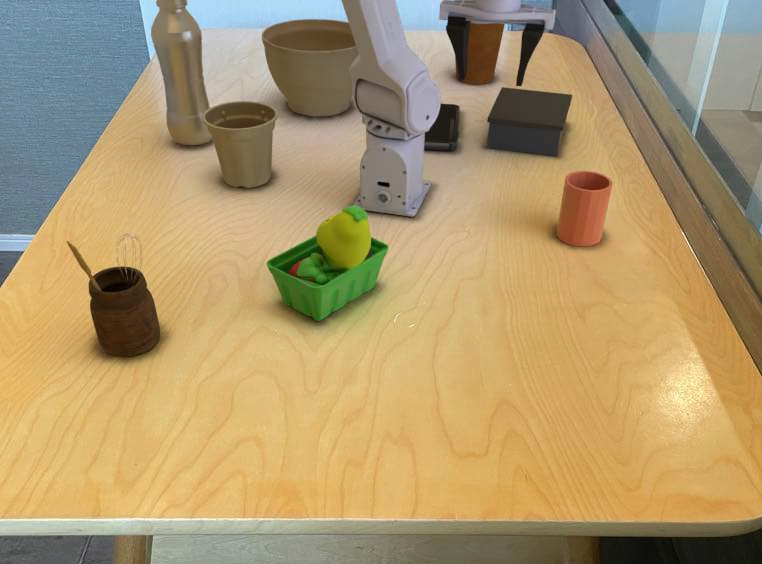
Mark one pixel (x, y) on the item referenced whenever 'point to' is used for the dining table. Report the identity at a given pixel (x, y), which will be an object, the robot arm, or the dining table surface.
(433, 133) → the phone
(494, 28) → the disposable coffee cup
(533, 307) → the dining table surface
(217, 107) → the flower pot
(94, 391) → the dining table surface
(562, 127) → the container
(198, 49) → the plastic bottle
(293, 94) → the planter bowl
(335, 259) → the fruit basket
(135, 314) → the utensil holder
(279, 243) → the dining table surface
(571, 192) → the cup
